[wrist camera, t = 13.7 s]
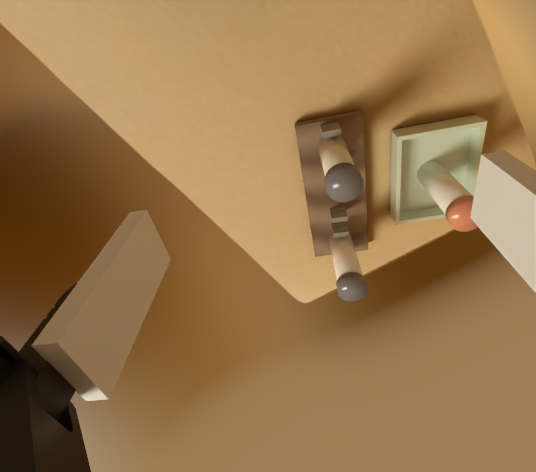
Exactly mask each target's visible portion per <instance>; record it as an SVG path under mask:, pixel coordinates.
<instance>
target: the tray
mask: <svg viewBox="0 0 536 472" xmlns="http://www.w3.org/2000/svg"><path fill="white" fill-rule="evenodd" d="M486 126H487V120H485V119H483V118H481V117H480V116H478V115H471V116H465V117H460V118H454V119H449V120H443V121H438V122H432V123H427V124H421V125H416V126H410V127H405V128H400V129H394V130H391V193H390V215H391V217H392V219H393V221H394V223H395V225H396V224H403V223H410V222H417V221H424V220H431V219H439V218H446V216H445V213H444V212H443V211H442V210H441V208H440V207H439V206H438V204H437V203H436V202H435V201H434V199H433V198H432V197H431V195H430V194H429V193H428V191H427V190H426V189H425V188H424V186H423V185H422V184H421V182H420V181H419V180H418V178H417V171H418V169H419V167H420V166H421V165H422V164H424V163H425V162H428V161H438V162H439V163H440V164H441V165H442V166H443V167H444V168H445V169H446V170H447V171H448V172H449V173H450V174H451V175H452V176H453V177H454V178H455V179H456V180H457V181H458V182H459V183H460V184H461V185H462V186H463V187H464V188H465V189H466V190H467V191H468V192H469V193H470V194H471V195H472V196H474V193H475V187H476V182H477V176H478V170H479V165H480V159H481V154H482V149H483V143H484V137H485V132H486Z"/></svg>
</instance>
